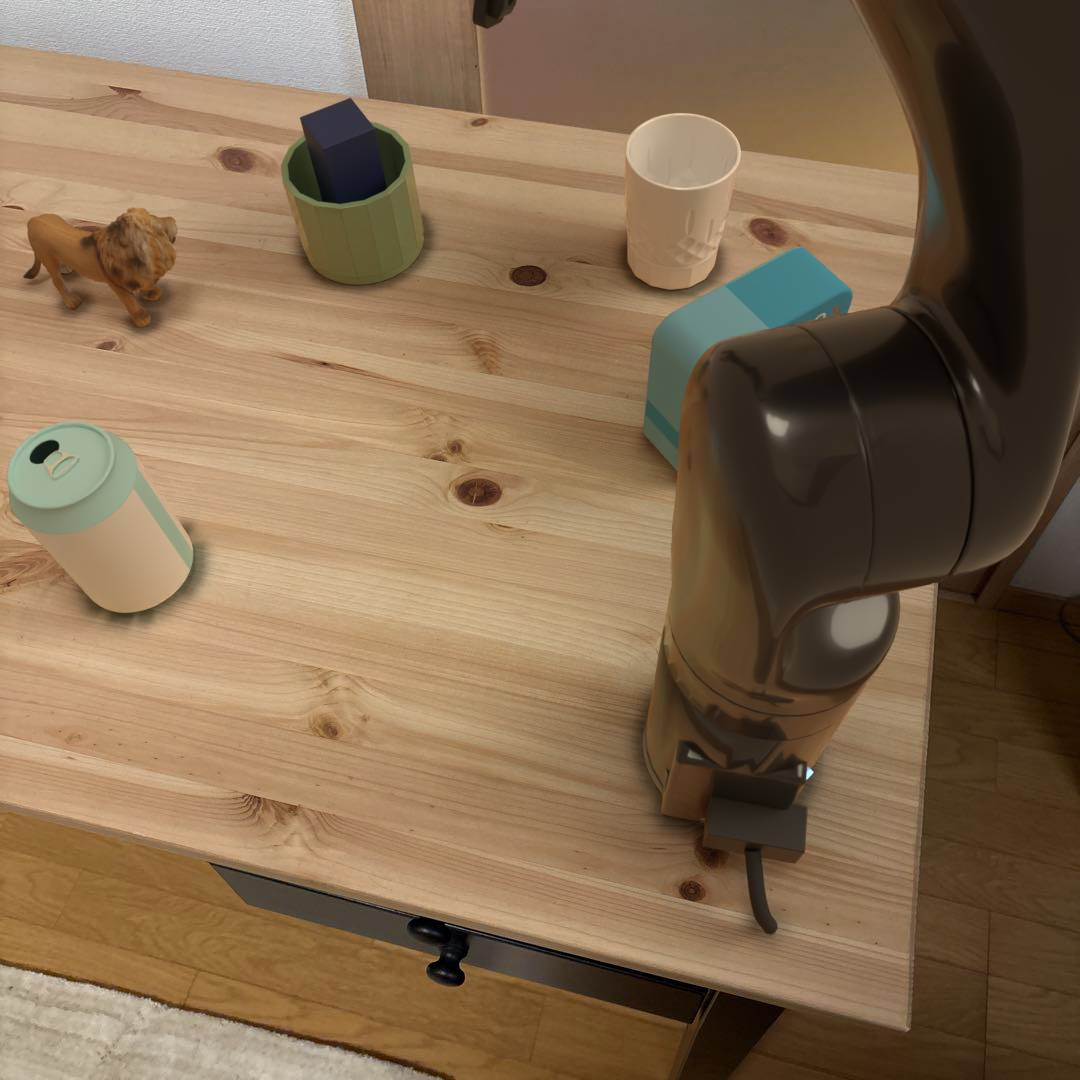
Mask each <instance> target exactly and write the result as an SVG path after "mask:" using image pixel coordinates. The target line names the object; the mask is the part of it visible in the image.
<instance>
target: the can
mask: <svg viewBox="0 0 1080 1080" xmlns="http://www.w3.org/2000/svg"><path fill="white" fill-rule="evenodd" d="M6 483H7V487H8V501H9V504H10V508H11V510H12V512H13V515H14V516H15V518H17V520H18V521H19V522H20V523H21V524H22V525H23V526H24V528H25V529H26V530H27V531H28V532H29V533H30V534H31V535H32V537H34V539H35V540H36V541H37V542H38V543H39V544H40V545H41V546H42V547H43V548H44V549H45V550H46V552H48V554H49V555H50V556H51V557H52V558H53V559H54V560H55V562H57V564H58V565H59V566H60V567H61V568H62V569H63V571H65V572H66V573H67V575H68V576H69V577H70V578H71V579H72V580H73V581H74V582H75V583H76V584H77V585H78V586H79V588H80V589H81V590H82V591H83V592H84V593H85V594H86V595H87V596H88V597H89V599H90V600H91V601H92V602H94V604H96V605H98V606H99V607H101V608H102V609H105V610H107V611H111V612H114V613H122V614H123V613H124V614H126V613H127V614H128V613H136V612H141V611H145V610H148V609H152V608H154V607H156V606H159V605H160V604H161V603H164V602H165V601H167V600H168V599H169V598H170V597H172V596H173V595H174V594H175V593H176V592H177V591H178V590H179V589H180V588H181V586H183V584H184V582H185V581H186V580H187V578H188V576H189V574H190V572H191V570H192V566H193V561H194V547H193V543H192V540H191V538H190V536H189V534H188V533H187V531H186V530H185V528H184V526H183V524H182V523H181V521H180V520H179V519H178V517H177V516H176V514H175V512H174V511H173V509H172V508H171V507H170V505H169V503H168V502H167V500H166V499H165V497H164V496H163V494H162V493H161V491H160V489H159V488H158V487H157V485H156V483H155V482H154V481H153V479H152V478H151V476H150V474H149V473H148V471H147V470H146V468H145V467H144V465H143V463H142V462H141V460H140V459H139V457H138V456H137V455H136V453H135V452H134V450H133V448H132V447H131V446H130V444H129V443H128V442H126V441H125V440H124V439H123V438H121V437H120V436H118V435H117V434H115V433H113V432H110V431H108V430H105V429H103V428H101V427H100V426H98V425H96V424H94V423H91V422H87V421H83V420H68V421H61V422H56V423H53V424H49V425H48V426H44V427H43V428H41V429H39V430H37V431H35V432H34V433H32V434H31V435H29V437H27V438H26V439H24V441H22V442H21V444H19V445H18V446H17V448H16V449H15V451H14V452H13V454H12V455H11V457H10V459H9V461H8V464H7V468H6Z"/></svg>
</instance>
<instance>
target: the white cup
mask: <svg viewBox="0 0 1080 1080" xmlns="http://www.w3.org/2000/svg"><path fill="white" fill-rule="evenodd" d="M624 147H625V148H624V206H625V213H624V214H625V231H626V235H627V236H626V237H627V239H626V240H627V259H626V260H627V262H626V263H627V264H628V266H629V268H630V269H631V271H632V272H633V273H632V274H634V276H635V277H636V278H637V279H640V280H641V281H643V282H644V283H645V284H647V285H648V286H651V287H654V288H659V289H663V290H668V291H673V290H682V289H688V288H689V289H690V288H691V287H693V286H695V285H697V284H699V283H701V282H702V281H703V282H704V280H706V278H707V277H708V276H709V274H710V273H711V272H712V270H713V269H714V267H715V265H716V261H717V256H718V251H719V247H720V242H721V240H722V237H723V234H724V232H725V231H724V230H725V227H726V221H727V218H728V215H729V212H730V211H729V210H730V206H731V202H732V197H733V193H734V189H735V185H736V179H737V175H738V170H739V166H740V161H741V158H742V150H741V145H740V142H739V140H738V138H737V136H736V135H735V134H734V132H733V131H732V130H731V129H729V128H728V127H727V126H726V125H724V124H723V123H721V122H720V121H718V120H716V119H713V118H711V117H708V116H705V115H701V114H696V113H691V112H690V113H688V112H687V113H686V112H675V113H666V114H662V115H658V116H655V117H652V118H650V119H648V120H646V121H644V122H642V123H640V124H639V125H638V126H636V128H634V130H632V132H631V133H630V134H629V136H628V138H627V140H626V142H625V146H624Z"/></svg>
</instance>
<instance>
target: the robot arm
mask: <svg viewBox="0 0 1080 1080" xmlns="http://www.w3.org/2000/svg"><path fill="white" fill-rule="evenodd" d="M517 1H518V0H473V8H472V17H471V19H472V23H473V25H475V26H478V27H480V28H484V29H486V30H488V29H491V28H492V27H494V26H496V25H499V24H500V23H502V22H503V20H504V18H505V17H506V16H508V15H510V14H512V13H513V11H514V9H515V7H516V5H517ZM849 2H850V4H851V6H852V8H853V9H854V11H855V14H856V15H857V17H858V19H859V21H860V23H861V25H862V27H863V29H864V31H865V32H866V34H867V37H868V38H869V40H870V42H871V45H872V46H873V48H874V50H875V52H876V54H877V56H878V58H879V59H880V61H881V63H882V66H883V68H884V70H885V72H886V74H887V77H888V79H889V82H890V84H891V85H892V88H893V90H894V92H895V95H896V96H897V99H898V101H899V103H900V106H901V109H902V112H903V114H904V118H905V120H906V124H907V126H908V129H909V131H910V135H911V139H912V142H913V146H914V151H915V157H916V163H917V184H918V185H917V186H918V189H917V190H918V195H917V211H916V223H915V230H914V231H915V232H914V240H913V244H912V245H913V246H912V250H911V256H910V261H909V265H908V266H909V267H908V268H907V272H906V275H905V277H904V281H903V284H902V287H901V289H900V290H899V292H898V294H897V295H896V296H895V298H894V299H893V300H892V301H891V303H889V304H887V305H880V306H878V307H877V306H876V307H873V308H868V309H863V310H857V311H852V312H848V313H847V314H842V315H837V316H832V317H827V318H822V319H817V320H812V321H806V322H801V323H796V324H792V325H788V326H781V327H775V328H771V329H766V330H761V331H756V332H751V333H747V334H742V335H737V336H733V337H730V338H726V339H723V340H721V341H719V342H717V343H715V344H714V345H712V346H711V347H710V348H708V349H707V350H706V351H705V352H704V354H703V355H702V356H701V357H700V358H699V360H698V361H697V363H696V365H695V366H694V368H693V370H692V372H691V375H690V377H689V380H688V382H687V385H686V389H685V393H684V398H683V402H682V409H681V418H680V428H679V444H678V466H677V471H676V485H675V486H676V487H675V496H674V504H673V506H674V508H673V514H672V523H671V543H670V581H671V583H670V589H669V590H670V591H669V595H668V596H669V597H668V602H667V608H666V611H665V612H666V613H665V619H664V624H663V628H662V632H661V633H662V634H661V640H660V644H659V650H658V655H657V660H656V661H657V662H656V667H655V673H654V678H653V683H652V690H651V695H650V700H649V707H648V711H647V714H646V716H645V721H644V726H643V733H642V749H643V751H642V752H643V757H644V761H645V765H646V768H647V771H648V773H649V776H650V778H651V780H652V781H653V783H654V785H655V786H656V787H657V790H658V791H659V792H660V793H661V806H660V807H661V808H660V810H661V811H660V812H661V813H662V814H663V815H664V816H667V817H673V818H679V819H684V820H690V821H694V822H700V823H704V828H703V836H702V843H701V844H702V845H701V846H702V847H703V848H709V849H713V850H720V851H725V852H730V853H735V854H740V855H744V860H745V869H746V870H745V871H746V877H747V878H746V879H747V887H748V888H747V889H748V895H749V901H750V905H751V906H750V907H751V911H752V915H753V918H754V920H755V922H756V923H757V924H758V925H759V927H760V928H761V930H762V931H763V932H764V933H765V934H767V935H773V934H776V932H777V931H778V929H779V928H778V922H777V920H776V919H775V917H773V915H772V913H771V911H770V907H769V903H768V899H767V893H766V887H765V878H764V869H763V859H766V860H770V861H771V860H772V861H778V862H782V863H787V864H794V865H795V864H797V862H798V861H799V860H800V859H801V858H802V856H804V854H805V852H806V843H807V826H808V811H809V808H808V806H806V805H800V804H795V803H794V802H795V801H796V799H797V797H798V796H799V794H800V793H801V791H802V790H803V789H804V787H805V785H806V784H807V780H808V779H809V778H811V776H812V775H813V774H814V771H813V770H812V768H813V767H814V765H815V764H816V762H817V761H818V759H819V757H820V756H821V755H822V753H823V752H824V750H825V749H826V747H827V745H828V744H829V743H830V741H831V740H832V739H833V736H834V735H835V733H836V732H837V731H838V728H839V727H840V726H841V724H842V723H843V721H844V720H845V719H846V717H847V715H848V714H849V712H850V711H851V709H852V708H853V707H854V705H855V703H856V702H857V700H858V699H859V698H860V696H861V695H862V693H863V692H864V690H865V689H866V687H867V686H868V684H870V681H871V680H872V678H873V677H874V675H875V674H876V673H877V671H878V669H880V666H881V665H882V664H883V663H884V660H885V659H886V657H887V655H888V653H889V651H890V650H891V647H892V645H893V643H894V641H895V638H896V634H897V632H898V628H899V622H900V618H901V598H900V597H901V595H900V592H904V591H909V590H913V589H917V588H922V587H926V586H929V585H933V584H939V583H942V582H945V581H946V582H948V581H951V580H955V579H958V578H963V577H967V576H970V575H972V574H975V573H977V572H980V571H983V570H986V569H987V568H989V567H991V566H993V565H996V564H997V563H999V562H1001V561H1003V560H1005V559H1006V558H1007V557H1009V556H1010V555H1012V554H1013V553H1014V552H1015V551H1017V549H1018V548H1020V547H1021V546H1022V545H1023V544H1024V542H1025V541H1026V540H1027V539H1028V537H1030V535H1031V533H1032V532H1033V531H1034V530H1035V528H1036V526H1037V524H1038V522H1039V521H1040V519H1041V517H1042V515H1043V514H1044V511H1045V509H1046V507H1047V504H1048V502H1049V500H1050V497H1051V495H1052V492H1053V490H1054V486H1055V484H1056V481H1057V477H1058V474H1059V472H1060V469H1061V466H1062V463H1063V459H1064V455H1065V451H1066V448H1067V445H1068V444H1067V443H1068V440H1069V436H1070V431H1071V427H1072V423H1073V420H1074V419H1073V418H1074V415H1075V411H1076V407H1077V402H1078V398H1079V396H1080V395H1079V394H1080V0H849Z"/></svg>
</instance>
